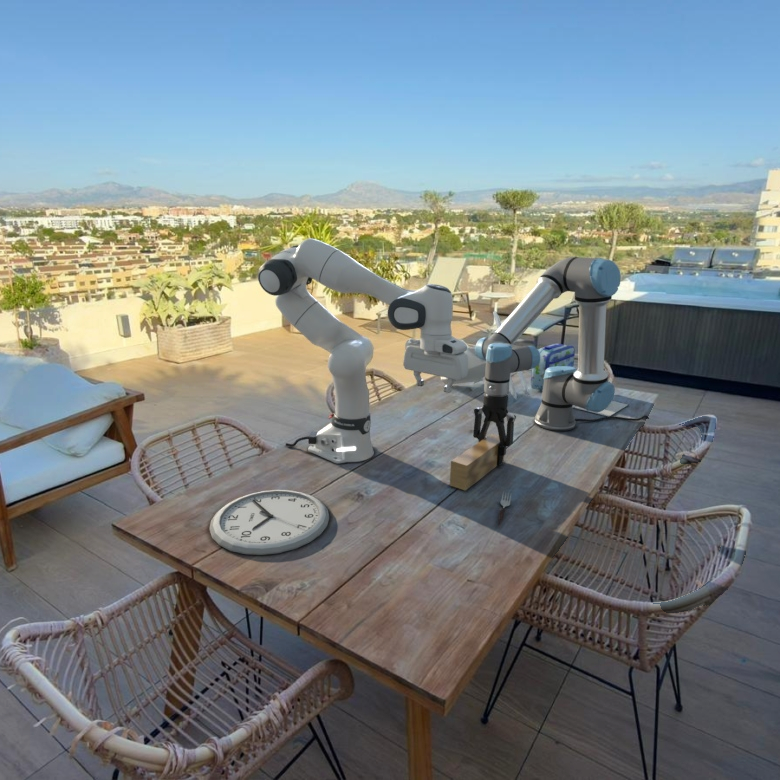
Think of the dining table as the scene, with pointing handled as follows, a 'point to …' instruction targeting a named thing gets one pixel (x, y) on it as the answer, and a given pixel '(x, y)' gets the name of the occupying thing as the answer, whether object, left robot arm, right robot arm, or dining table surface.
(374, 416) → the dining table surface
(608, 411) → the invitation card
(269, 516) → the wall clock
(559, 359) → the lunch box
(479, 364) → the white plastic object
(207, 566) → the dining table surface
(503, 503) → the fork
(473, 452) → the bar
